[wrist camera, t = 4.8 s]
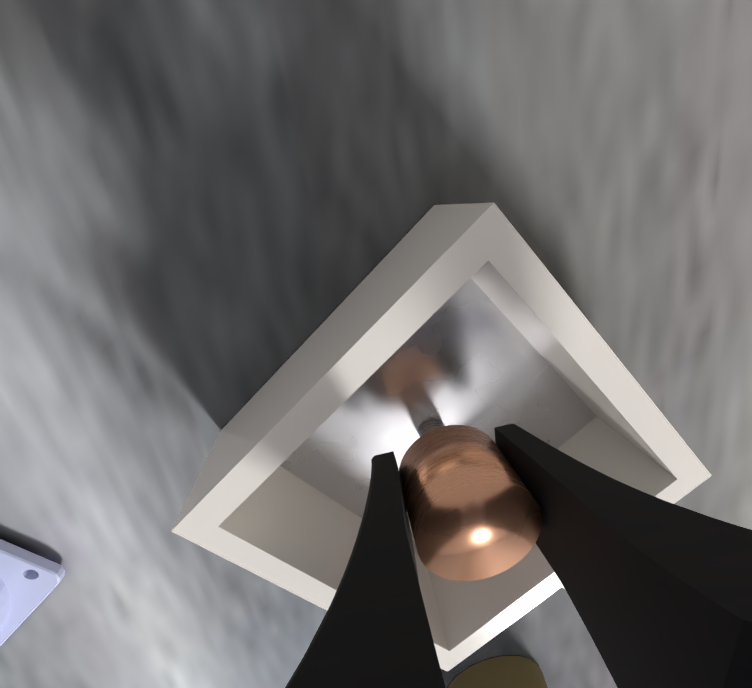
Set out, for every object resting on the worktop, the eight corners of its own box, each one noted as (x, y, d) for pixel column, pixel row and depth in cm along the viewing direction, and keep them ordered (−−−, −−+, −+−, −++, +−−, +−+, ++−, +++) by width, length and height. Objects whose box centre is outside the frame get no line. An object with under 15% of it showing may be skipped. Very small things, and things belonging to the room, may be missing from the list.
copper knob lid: (249, 435, 13) (203, 566, 8) (436, 243, 11) (513, 267, 7) (421, 548, 16) (460, 691, 11) (587, 409, 14) (714, 508, 10)
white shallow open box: (220, 431, 13) (171, 531, 9) (434, 205, 11) (494, 202, 7) (446, 575, 17) (482, 689, 13) (629, 428, 15) (737, 507, 11)
